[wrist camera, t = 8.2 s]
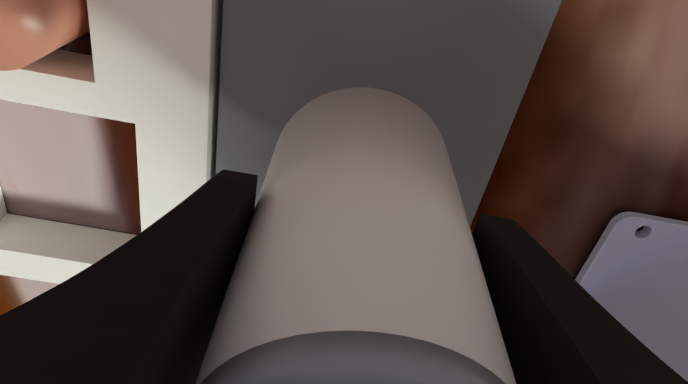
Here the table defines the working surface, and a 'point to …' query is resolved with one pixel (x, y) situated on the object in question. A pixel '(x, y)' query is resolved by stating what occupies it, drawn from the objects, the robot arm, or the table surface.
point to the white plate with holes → (125, 119)
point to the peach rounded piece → (38, 29)
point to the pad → (379, 71)
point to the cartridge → (358, 259)
